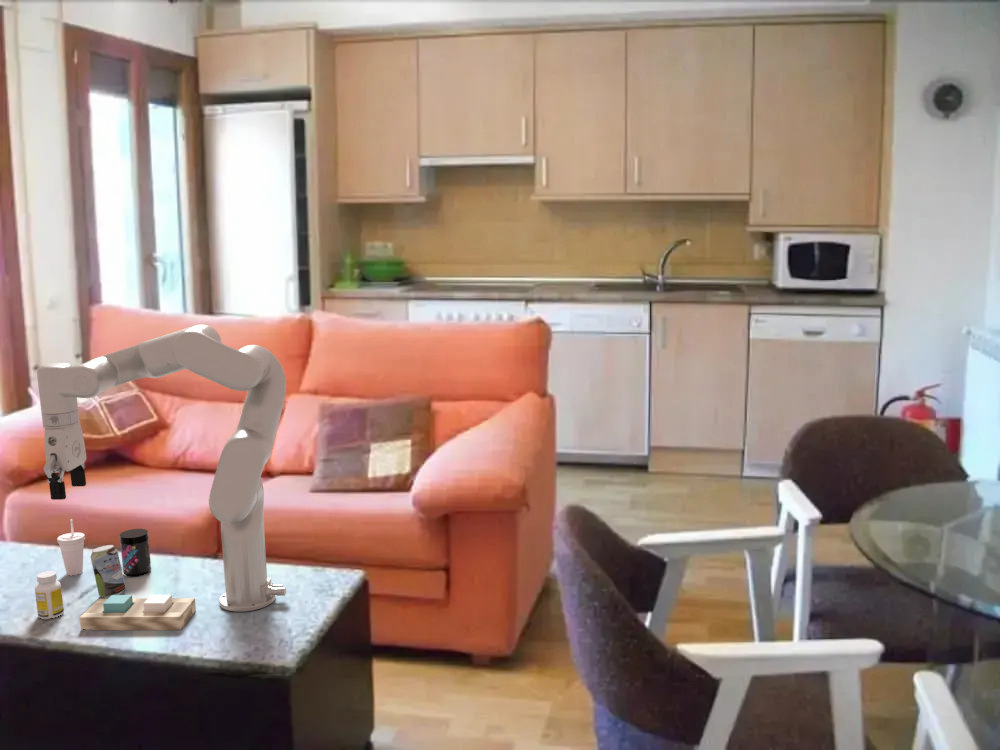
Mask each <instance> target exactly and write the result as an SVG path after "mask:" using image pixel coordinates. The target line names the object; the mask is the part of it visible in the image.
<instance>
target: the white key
mask: <svg viewBox="0 0 1000 750" xmlns="http://www.w3.org/2000/svg"><path fill="white" fill-rule="evenodd" d="M147 598H148V599H147V600H146V601H145V602H144V613H163V612H167V611H168V610H169V608H170V607H171V606H172V598H173V595H172V594H151V595H150V596H149V597H147Z"/></svg>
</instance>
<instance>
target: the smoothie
mask: <svg viewBox="0 0 1000 750" xmlns="http://www.w3.org/2000/svg"><path fill="white" fill-rule="evenodd" d="M69 521H70V522H69V523H70V531H71V532H67V533H64V534H63V533H62V535H61V534H60V535H59V536H58V537H57V538H56V539H57V544H59V548H60V549H59V550H60V552H61V556H62V557H61V558H62V560H63V565H64V568H65V572H66V575H67V576H68V575H70V576H71V577H72V575H75V576H78V575H77V574H79V575H81V574H82V573H83V572H84V571H83V570H84V569H83V568H84V546H85V544H84V543H85V542H84V541H85V540H86V535H85V533H83V532H80V531H79V532H75V531H74V520H73V518H71V519H69ZM80 573H81V574H80Z"/></svg>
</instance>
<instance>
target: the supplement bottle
mask: <svg viewBox="0 0 1000 750" xmlns="http://www.w3.org/2000/svg"><path fill="white" fill-rule="evenodd" d="M36 581H37V584H36V585H35V587H34V594H35V602H36V610H37V616H38V618H39V619H40V618H41V620H51V619H50V618H53V619H55V617H56V618H58V616H59V617H61V616H63V614H64V613H65V610H64V609H65V608H64V600H63V592H62V585H61V582H60V581H59V580H57V572H56V571H55V570H47V571H43V572H40V573H38V574H37V575H36ZM60 615H61V616H60Z"/></svg>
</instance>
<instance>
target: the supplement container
mask: <svg viewBox="0 0 1000 750" xmlns="http://www.w3.org/2000/svg"><path fill="white" fill-rule="evenodd" d="M119 542H120V552H121V553H120V554H121V561H122V562H121V563H122V564H121V566H122V573H123V576H125V577H128V578H138V577H139V578H140V577H143V576H146V575H148V574H149V573H150V572H151V570H152V562H151V550H150V541H149V530H147V529H146V528H134V529H133V528H132V529H128V530H124V531H122V532H121V533H119Z"/></svg>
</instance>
